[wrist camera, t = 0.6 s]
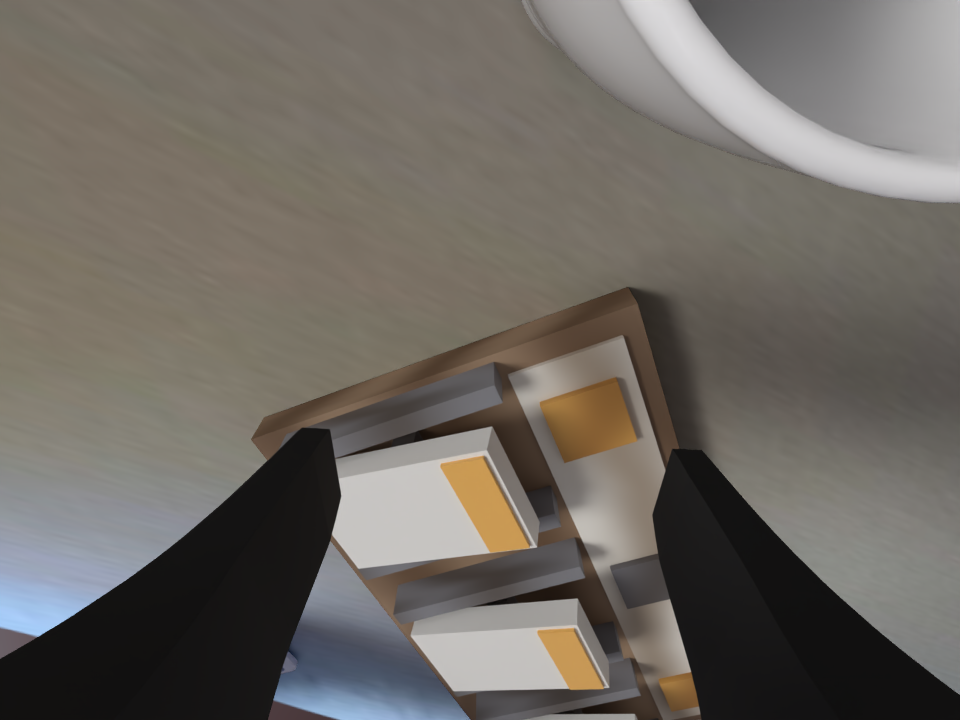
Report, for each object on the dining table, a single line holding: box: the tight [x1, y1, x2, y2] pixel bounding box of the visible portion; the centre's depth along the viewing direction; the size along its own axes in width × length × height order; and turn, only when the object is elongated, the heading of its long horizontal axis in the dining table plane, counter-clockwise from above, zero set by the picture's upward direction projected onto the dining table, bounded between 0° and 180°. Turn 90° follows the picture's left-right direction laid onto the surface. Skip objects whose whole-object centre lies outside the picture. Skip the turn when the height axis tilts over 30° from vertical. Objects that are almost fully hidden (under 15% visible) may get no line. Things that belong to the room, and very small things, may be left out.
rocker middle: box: [410, 599, 609, 691], centre depth 25 cm, size 8×5×1 cm, turn 112°
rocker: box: [332, 427, 540, 569], centre depth 21 cm, size 8×5×1 cm, turn 112°
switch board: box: [251, 287, 701, 720], centre depth 27 cm, size 16×28×3 cm, turn 22°
